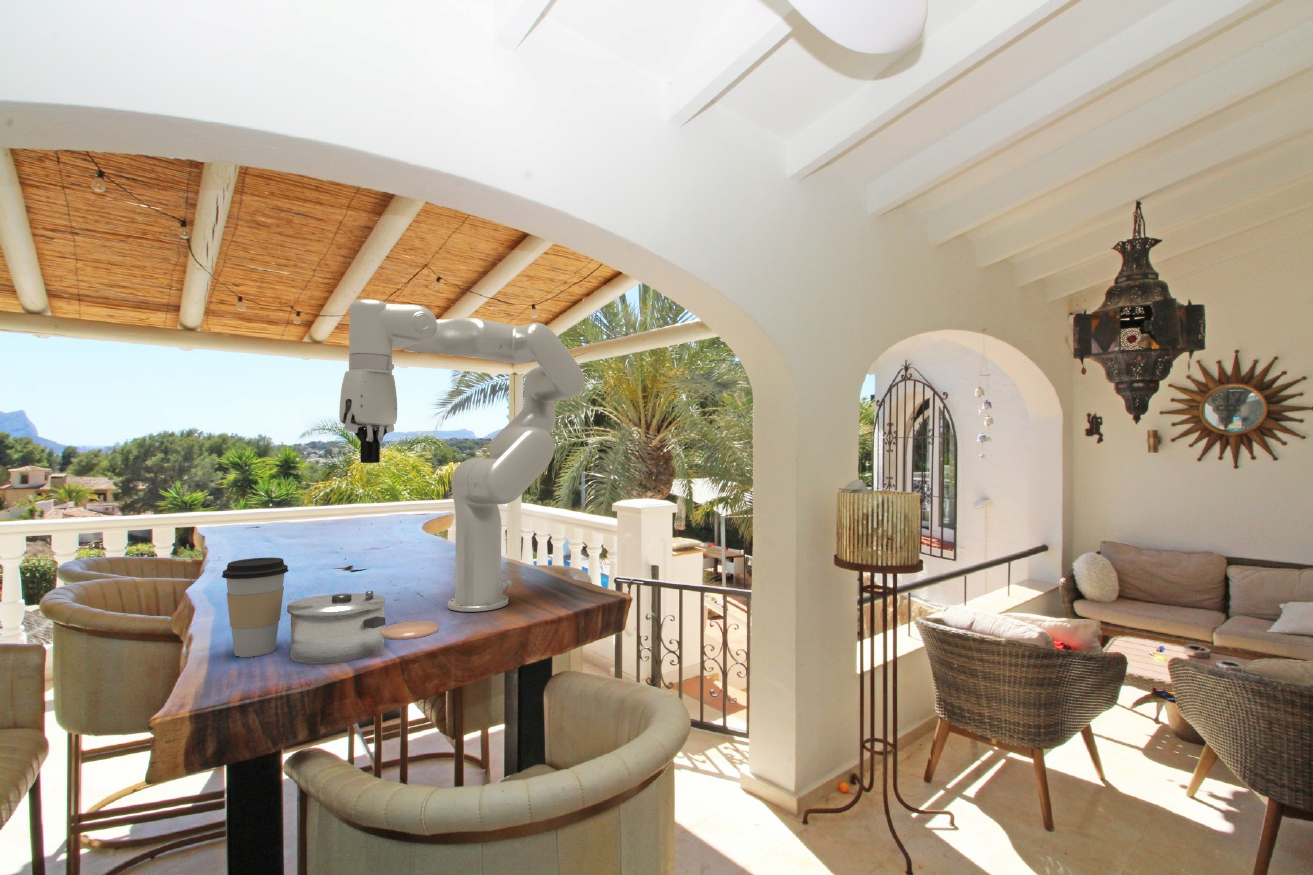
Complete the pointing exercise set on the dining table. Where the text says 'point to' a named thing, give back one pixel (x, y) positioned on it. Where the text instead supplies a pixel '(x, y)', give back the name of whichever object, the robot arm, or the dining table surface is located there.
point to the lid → (336, 605)
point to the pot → (336, 637)
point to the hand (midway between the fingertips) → (370, 462)
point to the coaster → (410, 630)
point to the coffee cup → (255, 603)
